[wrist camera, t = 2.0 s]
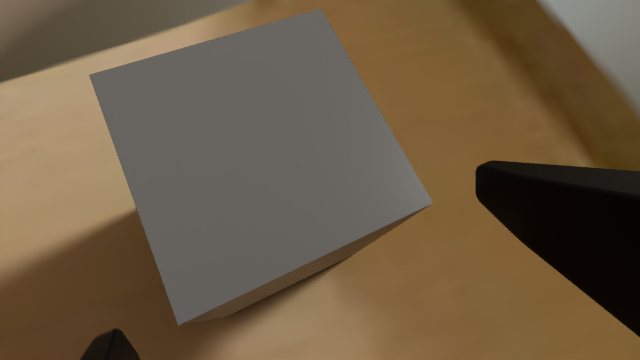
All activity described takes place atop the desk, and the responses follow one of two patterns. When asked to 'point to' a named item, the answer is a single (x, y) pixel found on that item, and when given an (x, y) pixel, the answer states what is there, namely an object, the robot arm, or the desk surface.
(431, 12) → the desk surface
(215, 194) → the grey rectangular block
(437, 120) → the desk surface
